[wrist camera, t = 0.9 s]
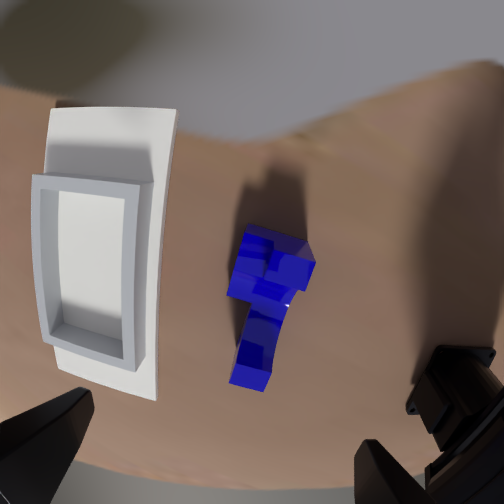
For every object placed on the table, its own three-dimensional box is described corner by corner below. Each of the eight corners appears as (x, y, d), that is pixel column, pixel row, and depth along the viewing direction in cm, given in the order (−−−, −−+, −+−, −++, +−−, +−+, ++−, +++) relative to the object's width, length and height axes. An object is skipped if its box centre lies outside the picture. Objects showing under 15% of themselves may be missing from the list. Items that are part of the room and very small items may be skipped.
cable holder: (248, 222, 18) (241, 239, 14) (307, 240, 18) (315, 262, 14) (214, 338, 20) (202, 375, 17) (265, 353, 20) (263, 392, 17)
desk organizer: (179, 110, 16) (164, 103, 14) (158, 396, 22) (147, 418, 20) (56, 109, 17) (32, 105, 14) (61, 364, 22) (46, 381, 20)
